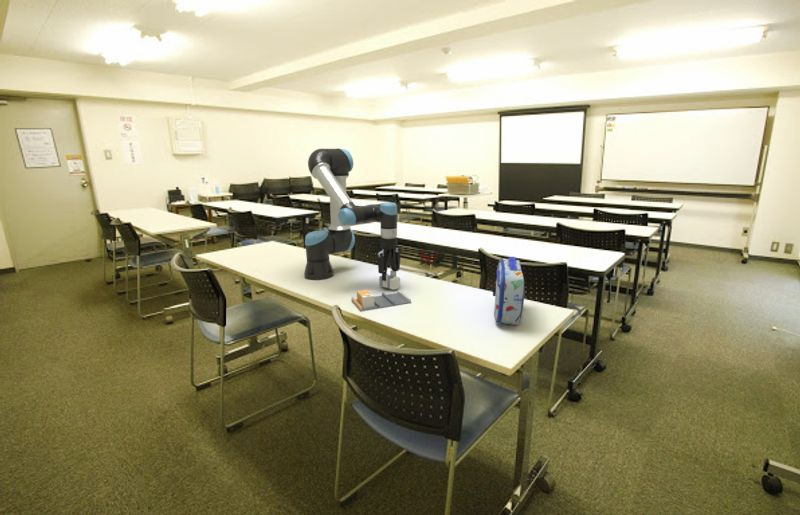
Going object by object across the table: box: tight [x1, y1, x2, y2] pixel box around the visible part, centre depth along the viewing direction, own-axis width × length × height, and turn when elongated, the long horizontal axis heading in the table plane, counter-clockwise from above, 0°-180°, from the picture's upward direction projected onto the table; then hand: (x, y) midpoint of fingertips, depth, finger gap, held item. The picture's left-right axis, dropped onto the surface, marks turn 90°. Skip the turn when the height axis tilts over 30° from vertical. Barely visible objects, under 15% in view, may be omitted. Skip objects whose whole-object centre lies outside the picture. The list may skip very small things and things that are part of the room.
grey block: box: [378, 274, 401, 291], centre depth 181 cm, size 9×5×5 cm, turn 48°
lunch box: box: [492, 256, 525, 326], centre depth 146 cm, size 28×10×22 cm, turn 168°
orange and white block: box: [356, 289, 375, 308], centre depth 161 cm, size 9×5×5 cm, turn 23°
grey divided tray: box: [350, 289, 412, 312], centre depth 165 cm, size 13×22×2 cm, turn 113°
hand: (389, 285), depth 182 cm, fingers closed on grey block, 4 cm apart
